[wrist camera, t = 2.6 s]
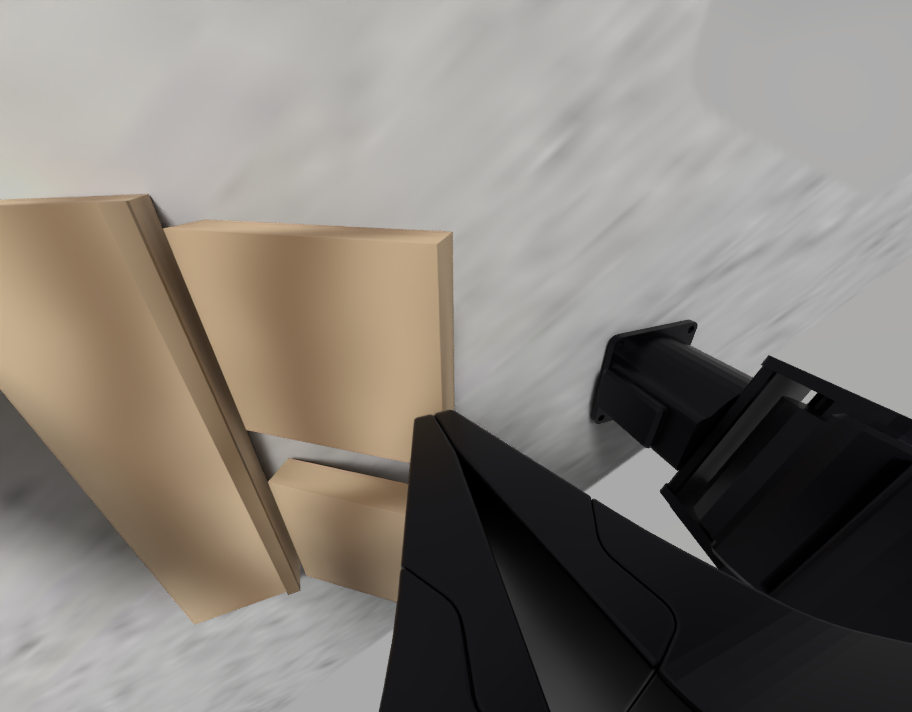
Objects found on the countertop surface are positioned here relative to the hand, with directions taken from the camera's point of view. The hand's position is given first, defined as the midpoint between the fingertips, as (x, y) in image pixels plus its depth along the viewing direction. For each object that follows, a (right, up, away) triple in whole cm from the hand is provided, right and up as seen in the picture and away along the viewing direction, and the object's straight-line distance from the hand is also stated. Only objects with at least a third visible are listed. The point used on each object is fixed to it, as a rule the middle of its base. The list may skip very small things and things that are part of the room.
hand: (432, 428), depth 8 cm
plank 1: (-3, +2, +4) cm, 6 cm away
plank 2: (-3, -7, +10) cm, 12 cm away
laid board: (-11, -2, +7) cm, 13 cm away
